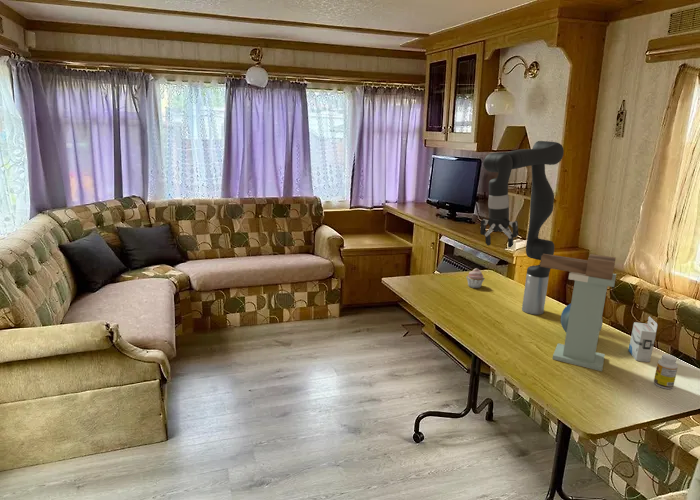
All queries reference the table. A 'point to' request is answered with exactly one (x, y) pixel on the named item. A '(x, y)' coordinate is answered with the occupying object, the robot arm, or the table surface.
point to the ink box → (643, 340)
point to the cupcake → (475, 278)
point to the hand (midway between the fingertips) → (499, 246)
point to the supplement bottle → (666, 371)
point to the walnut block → (581, 265)
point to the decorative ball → (566, 317)
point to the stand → (584, 322)
